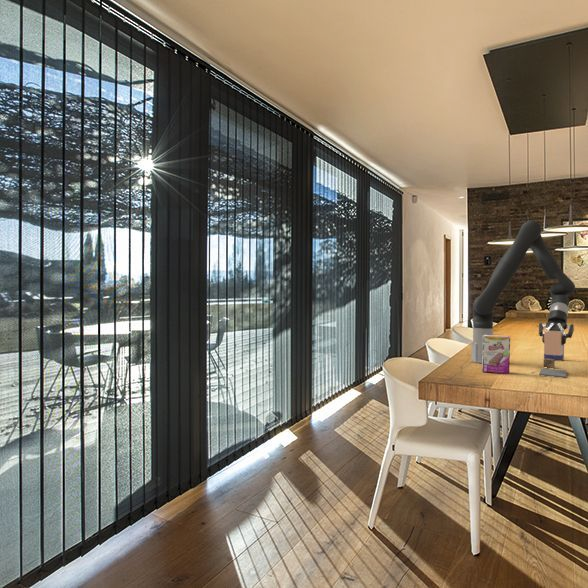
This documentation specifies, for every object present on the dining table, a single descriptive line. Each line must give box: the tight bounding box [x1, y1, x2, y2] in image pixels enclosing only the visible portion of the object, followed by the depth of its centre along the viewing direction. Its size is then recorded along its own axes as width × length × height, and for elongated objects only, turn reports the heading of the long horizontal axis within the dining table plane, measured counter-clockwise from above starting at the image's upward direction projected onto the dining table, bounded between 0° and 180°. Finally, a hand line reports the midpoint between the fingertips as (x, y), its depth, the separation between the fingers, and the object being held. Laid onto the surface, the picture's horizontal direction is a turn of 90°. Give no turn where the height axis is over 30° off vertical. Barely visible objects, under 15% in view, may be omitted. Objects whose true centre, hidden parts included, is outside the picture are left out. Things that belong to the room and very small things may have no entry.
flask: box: [543, 344, 565, 362], centre depth 249 cm, size 9×3×11 cm, turn 50°
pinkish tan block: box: [543, 330, 563, 356], centre depth 209 cm, size 6×6×10 cm
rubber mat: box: [538, 367, 567, 379], centre depth 210 cm, size 16×10×1 cm, turn 150°
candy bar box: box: [481, 334, 511, 375], centre depth 212 cm, size 11×5×16 cm, turn 71°
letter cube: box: [542, 358, 556, 369], centre depth 225 cm, size 4×4×4 cm
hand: (553, 343), depth 209 cm, fingers closed on pinkish tan block, 6 cm apart
